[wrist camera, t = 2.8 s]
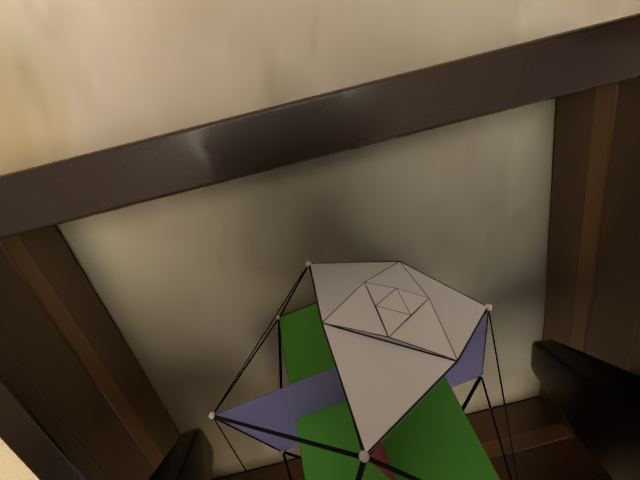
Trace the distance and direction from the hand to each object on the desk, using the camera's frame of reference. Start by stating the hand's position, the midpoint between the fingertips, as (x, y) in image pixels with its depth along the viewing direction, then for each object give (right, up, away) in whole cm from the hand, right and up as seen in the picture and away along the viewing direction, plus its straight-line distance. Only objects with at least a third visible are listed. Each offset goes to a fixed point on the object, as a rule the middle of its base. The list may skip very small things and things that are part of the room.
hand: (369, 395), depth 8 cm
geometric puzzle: (0, +1, +3) cm, 4 cm away
